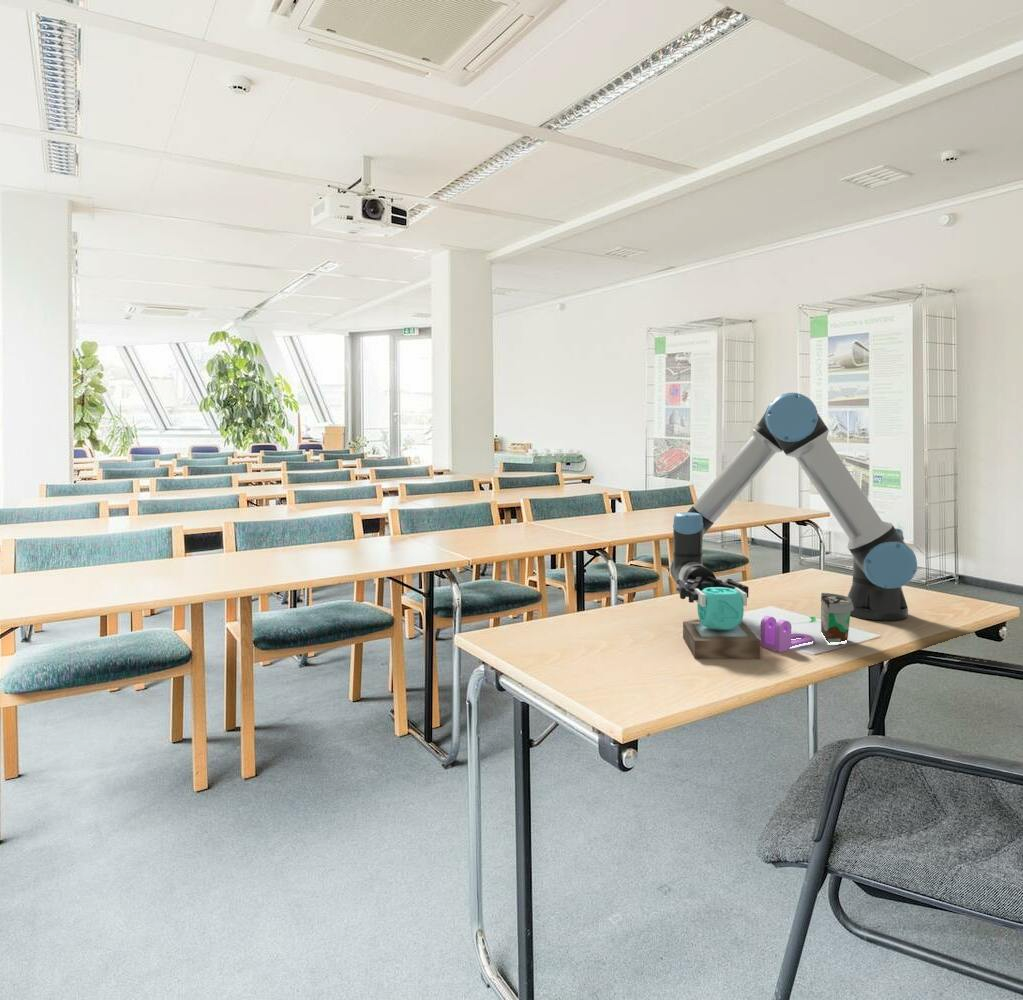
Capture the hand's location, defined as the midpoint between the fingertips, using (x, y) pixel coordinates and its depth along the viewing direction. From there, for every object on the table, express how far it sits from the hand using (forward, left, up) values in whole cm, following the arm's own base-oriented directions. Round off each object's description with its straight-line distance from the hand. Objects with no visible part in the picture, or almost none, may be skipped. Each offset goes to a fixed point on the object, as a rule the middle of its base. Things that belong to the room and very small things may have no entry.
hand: (724, 600), depth 168 cm
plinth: (0, -3, -12) cm, 12 cm away
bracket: (-16, -6, -12) cm, 21 cm away
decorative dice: (0, -3, -7) cm, 7 cm away
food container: (-28, -9, -12) cm, 32 cm away
